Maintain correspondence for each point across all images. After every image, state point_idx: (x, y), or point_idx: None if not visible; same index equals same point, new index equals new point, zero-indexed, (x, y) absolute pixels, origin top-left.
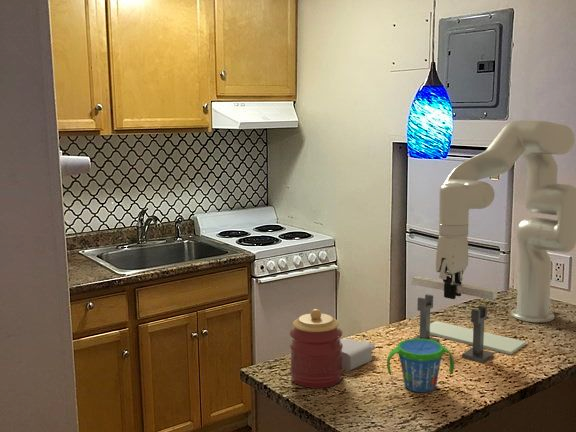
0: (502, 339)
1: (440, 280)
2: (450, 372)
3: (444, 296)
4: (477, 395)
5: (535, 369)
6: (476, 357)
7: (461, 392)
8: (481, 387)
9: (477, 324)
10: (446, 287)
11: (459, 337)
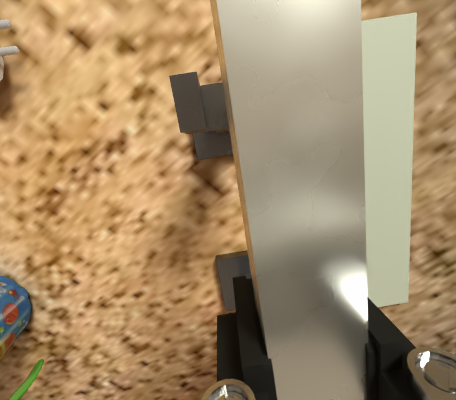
0: (386, 260)
1: (342, 242)
2: (32, 369)
3: (233, 280)
4: (77, 387)
5: None
6: (223, 295)
7: (59, 364)
8: (113, 371)
9: None
10: (220, 373)
11: None
